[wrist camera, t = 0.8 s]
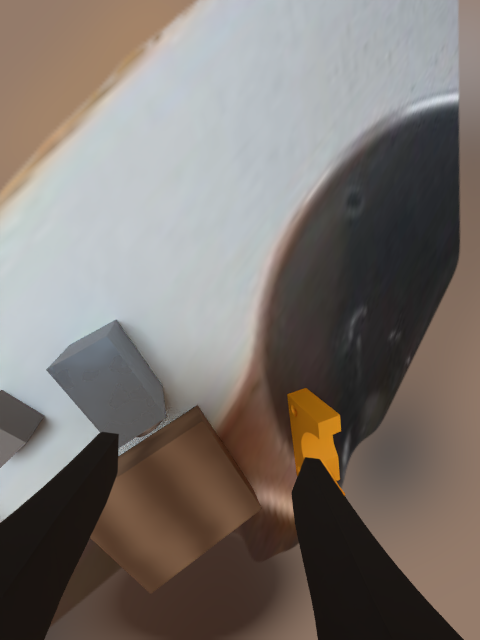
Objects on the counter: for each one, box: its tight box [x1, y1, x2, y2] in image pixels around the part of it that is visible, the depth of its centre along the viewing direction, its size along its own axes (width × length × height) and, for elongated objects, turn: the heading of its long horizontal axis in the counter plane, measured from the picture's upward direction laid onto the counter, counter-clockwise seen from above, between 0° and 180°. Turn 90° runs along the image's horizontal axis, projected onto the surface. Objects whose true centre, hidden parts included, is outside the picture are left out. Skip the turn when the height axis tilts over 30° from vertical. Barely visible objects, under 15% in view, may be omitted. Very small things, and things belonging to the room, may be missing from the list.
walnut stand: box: [90, 405, 262, 593], centre depth 28 cm, size 14×14×3 cm
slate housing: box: [46, 320, 166, 448], centre depth 23 cm, size 4×9×6 cm, turn 27°
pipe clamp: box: [287, 388, 345, 496], centre depth 31 cm, size 12×4×6 cm, turn 9°
